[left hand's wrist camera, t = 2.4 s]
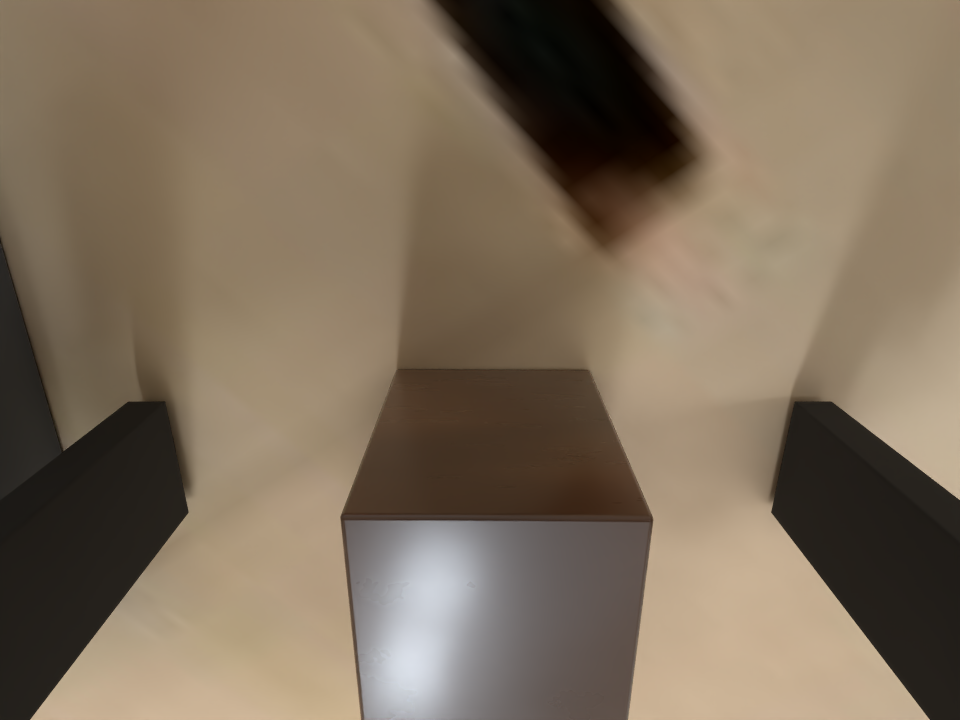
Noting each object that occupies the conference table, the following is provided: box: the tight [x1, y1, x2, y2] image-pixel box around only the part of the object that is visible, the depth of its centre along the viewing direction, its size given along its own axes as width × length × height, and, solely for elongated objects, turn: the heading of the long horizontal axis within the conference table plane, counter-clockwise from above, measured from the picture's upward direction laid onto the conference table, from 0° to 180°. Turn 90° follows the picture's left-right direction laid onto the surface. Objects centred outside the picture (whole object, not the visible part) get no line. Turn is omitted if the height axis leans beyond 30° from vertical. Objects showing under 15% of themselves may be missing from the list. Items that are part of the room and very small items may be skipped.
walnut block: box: [340, 370, 653, 720], centre depth 10 cm, size 4×4×5 cm
